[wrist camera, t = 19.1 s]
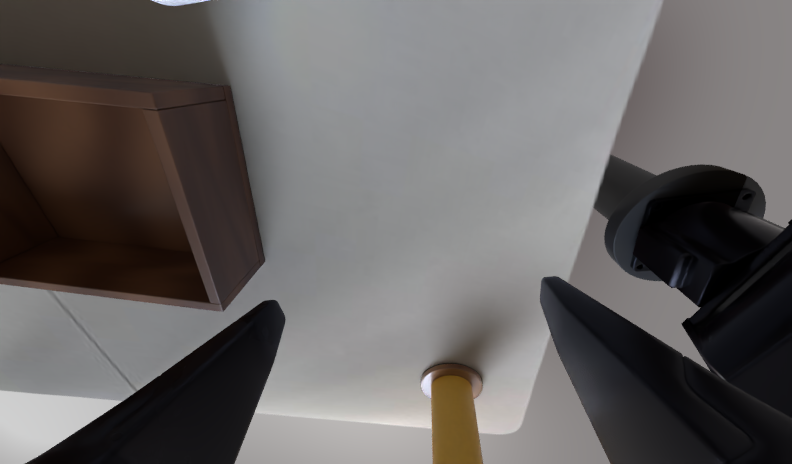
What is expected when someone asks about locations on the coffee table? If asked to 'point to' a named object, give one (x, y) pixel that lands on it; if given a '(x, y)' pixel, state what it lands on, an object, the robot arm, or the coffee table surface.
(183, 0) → the mug
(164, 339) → the coffee table surface
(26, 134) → the chest
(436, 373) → the coaster
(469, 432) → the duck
